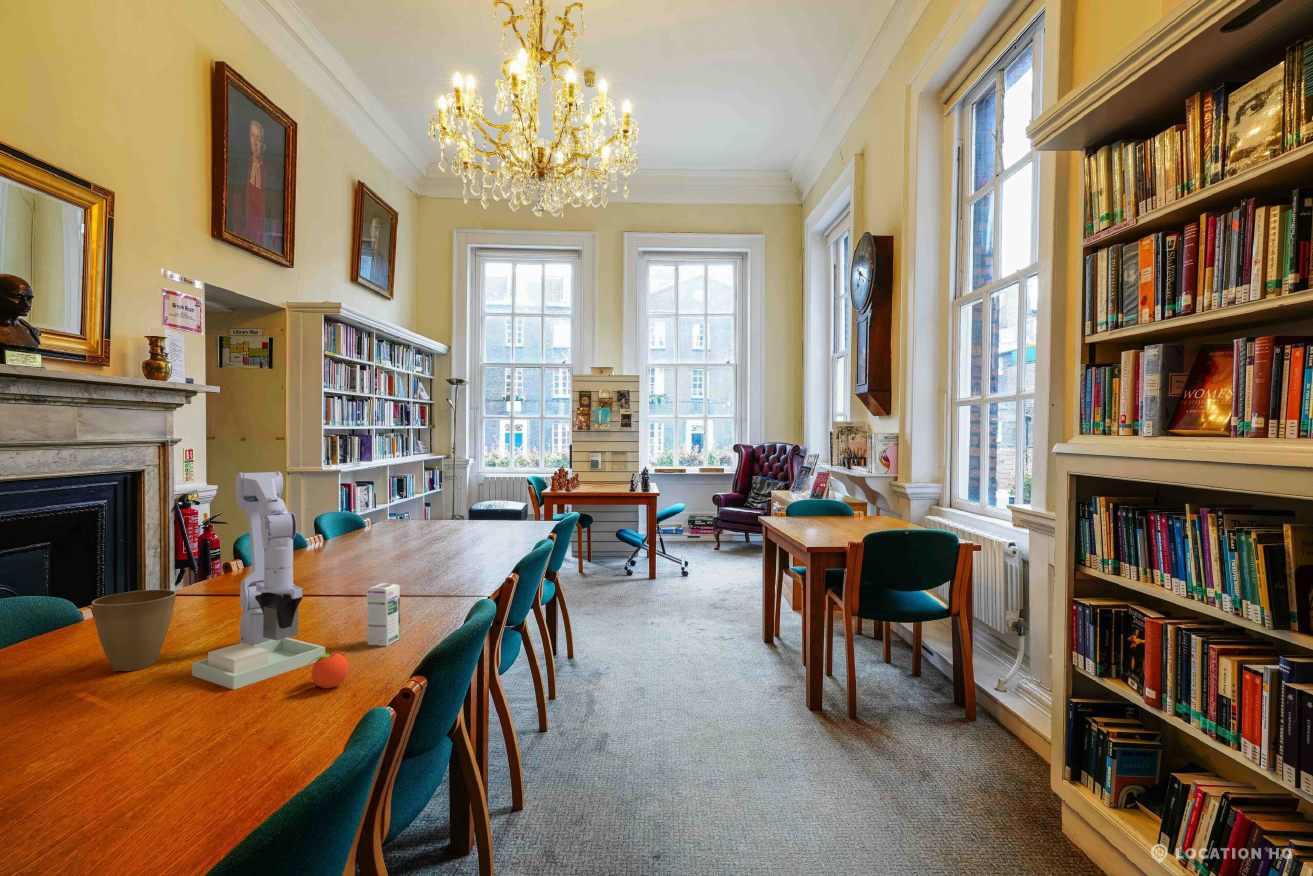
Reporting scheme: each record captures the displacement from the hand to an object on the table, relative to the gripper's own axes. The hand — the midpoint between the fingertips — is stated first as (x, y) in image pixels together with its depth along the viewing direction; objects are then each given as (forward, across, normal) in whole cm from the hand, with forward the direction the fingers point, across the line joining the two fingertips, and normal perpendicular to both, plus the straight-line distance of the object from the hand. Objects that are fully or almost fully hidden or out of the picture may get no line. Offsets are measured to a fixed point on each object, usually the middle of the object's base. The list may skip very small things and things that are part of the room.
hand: (278, 625), depth 144 cm
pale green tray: (+9, 0, -4) cm, 10 cm away
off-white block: (+8, 0, -9) cm, 12 cm away
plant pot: (+9, -28, -16) cm, 34 cm away
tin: (+2, 0, 0) cm, 3 cm away
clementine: (+9, +22, -3) cm, 24 cm away
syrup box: (+9, +8, +22) cm, 25 cm away
